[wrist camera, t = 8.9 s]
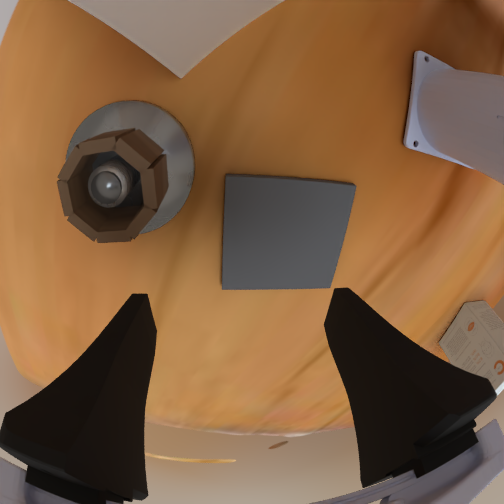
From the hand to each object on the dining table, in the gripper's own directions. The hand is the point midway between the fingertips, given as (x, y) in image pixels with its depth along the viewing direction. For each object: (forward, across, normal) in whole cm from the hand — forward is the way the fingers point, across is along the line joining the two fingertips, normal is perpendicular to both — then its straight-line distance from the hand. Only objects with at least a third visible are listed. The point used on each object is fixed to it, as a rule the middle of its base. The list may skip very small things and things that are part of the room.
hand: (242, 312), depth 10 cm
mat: (+10, -4, +2) cm, 11 cm away
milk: (+10, +3, -17) cm, 20 cm away
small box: (+10, -34, +16) cm, 39 cm away
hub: (+10, +7, -3) cm, 12 cm away
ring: (+9, +7, -3) cm, 12 cm away
